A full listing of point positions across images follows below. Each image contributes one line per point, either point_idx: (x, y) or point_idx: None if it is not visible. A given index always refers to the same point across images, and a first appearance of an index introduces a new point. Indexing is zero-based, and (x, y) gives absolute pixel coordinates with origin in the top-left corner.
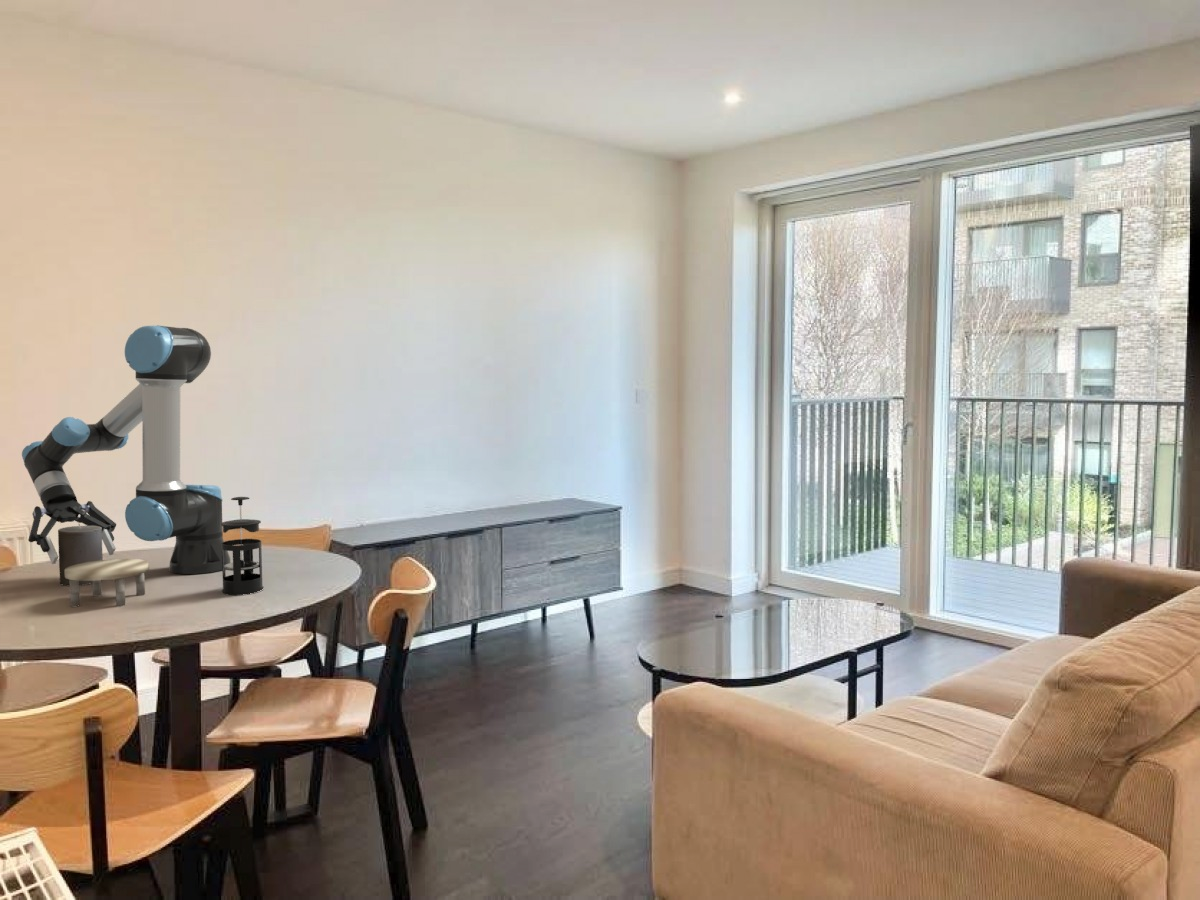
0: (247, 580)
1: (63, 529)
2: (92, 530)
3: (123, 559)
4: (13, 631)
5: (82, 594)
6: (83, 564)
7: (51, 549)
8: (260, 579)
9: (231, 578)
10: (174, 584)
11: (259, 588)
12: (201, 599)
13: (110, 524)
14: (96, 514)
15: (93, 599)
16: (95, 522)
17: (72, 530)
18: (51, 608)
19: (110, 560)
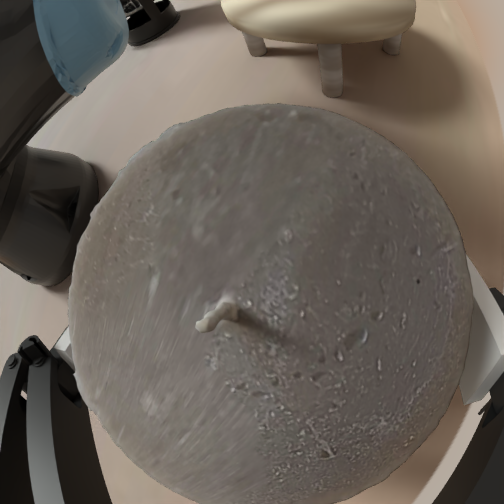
0: (157, 2)
1: (412, 378)
2: (195, 120)
3: (249, 14)
4: (463, 20)
5: (360, 121)
6: (366, 14)
7: (470, 264)
8: (139, 13)
9: (141, 30)
10: (166, 96)
11: (147, 19)
12: (215, 7)
13: (19, 347)
14: (8, 480)
15: (350, 66)
16: (50, 424)
17: (362, 199)
18: (431, 64)
19: (283, 16)
